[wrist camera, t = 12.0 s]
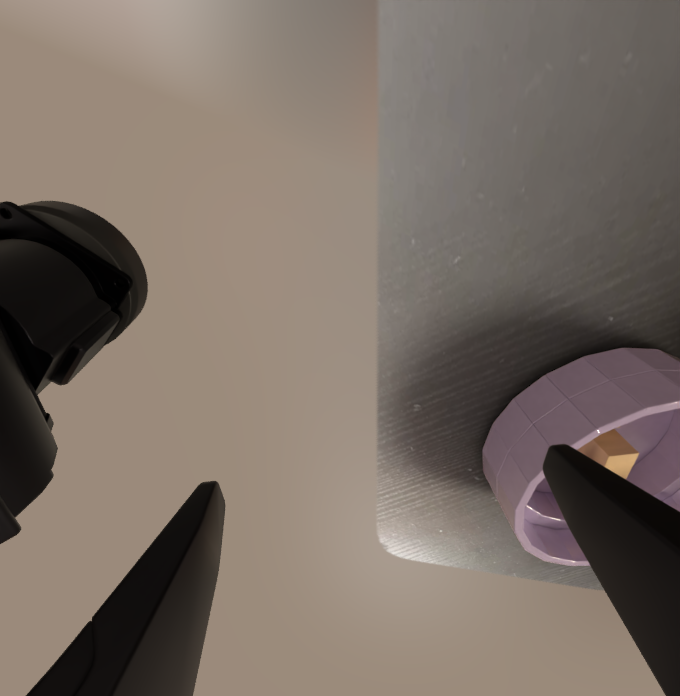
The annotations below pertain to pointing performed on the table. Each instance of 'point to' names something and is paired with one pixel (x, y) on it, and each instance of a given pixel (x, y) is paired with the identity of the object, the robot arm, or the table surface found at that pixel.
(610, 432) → the fork
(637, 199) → the table surface
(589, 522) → the robot arm
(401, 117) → the table surface
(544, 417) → the bowl
